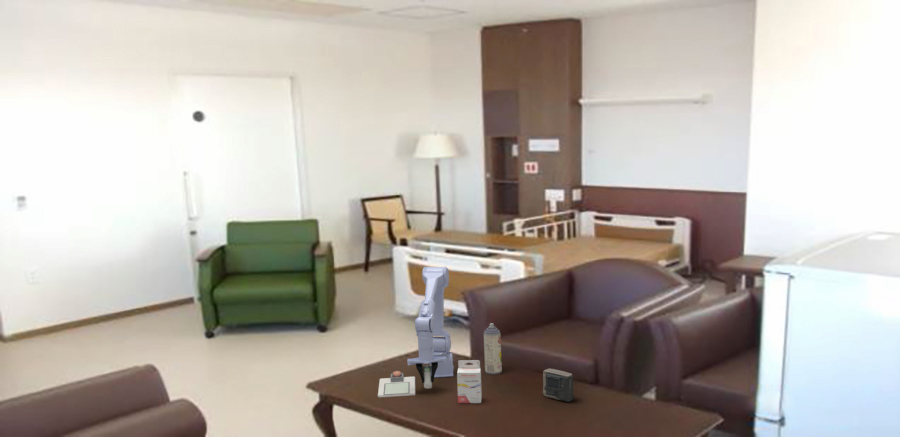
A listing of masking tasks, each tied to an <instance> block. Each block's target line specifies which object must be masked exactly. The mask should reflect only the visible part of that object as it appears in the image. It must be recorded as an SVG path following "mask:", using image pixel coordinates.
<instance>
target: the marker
mask: <svg viewBox="0 0 900 437" xmlns="http://www.w3.org/2000/svg"><path fill="white" fill-rule="evenodd" d="M423 376H424V383H423V388H424V389H432V388H433V382H432V376H431V366H430V364H429V365H428V364H425V365H424V366H423Z"/></svg>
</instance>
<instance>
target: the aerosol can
mask: <svg viewBox="0 0 900 437" xmlns="http://www.w3.org/2000/svg"><path fill="white" fill-rule="evenodd" d="M501 338H502V337H501V330H500V329H498V328H497V327H496V325H494V323H493V322H491V323H489V326H488V327H486V329H484V331H483V348H484V349H483V350H484V351H483V352H484V372H485V374H487V375H499V374H502V372H503V366H502V365H503V363H502V339H501Z"/></svg>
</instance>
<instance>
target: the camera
mask: <svg viewBox="0 0 900 437" xmlns="http://www.w3.org/2000/svg"><path fill="white" fill-rule="evenodd" d="M542 380H543V381H542V383H543V384H542V385H543V386H542V387H543V388H542V394H543V396H544V397H546V398H551V399H554V400H559V401H562V402H567V403H569V402H572V401H574V376H573V374H572V373H570V372H567V371H563V370H559V369H555V368H547V369H544V370H543V371H542Z"/></svg>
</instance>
